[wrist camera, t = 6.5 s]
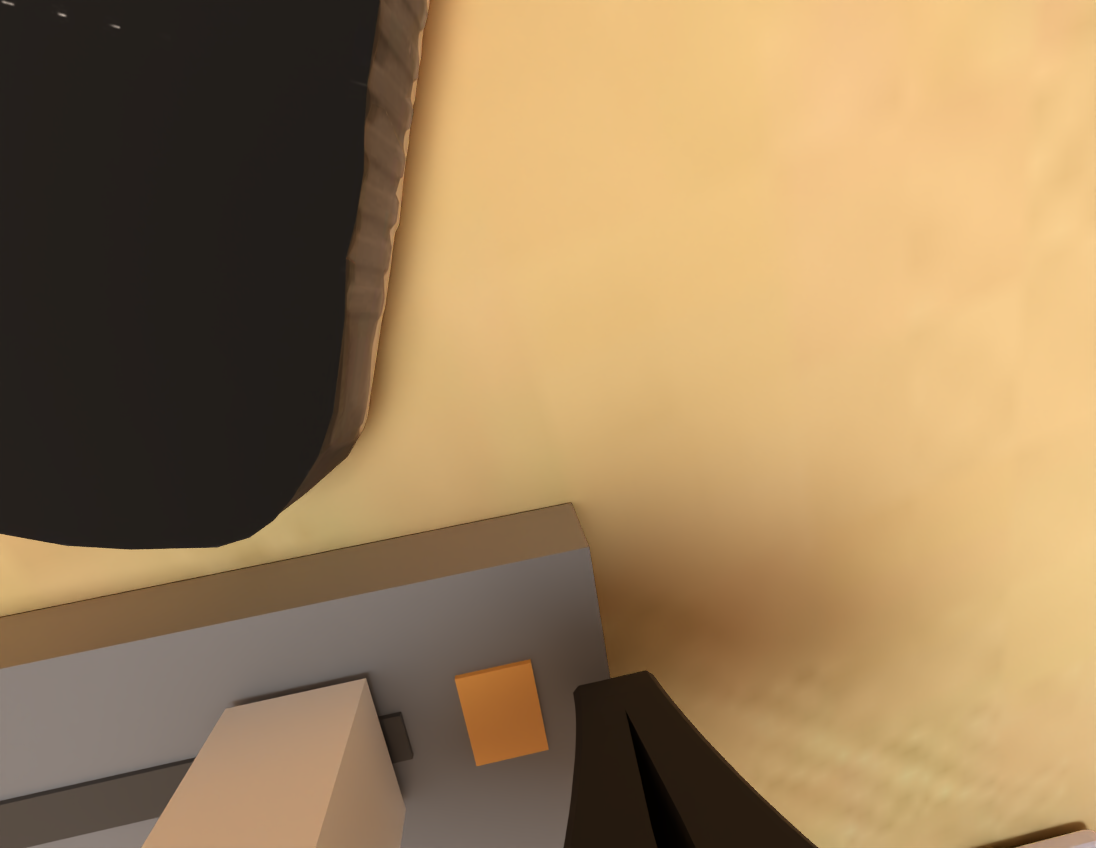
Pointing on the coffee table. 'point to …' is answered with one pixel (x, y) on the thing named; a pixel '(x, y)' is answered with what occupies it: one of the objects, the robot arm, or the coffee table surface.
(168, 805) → the block
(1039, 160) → the coffee table surface
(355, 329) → the black sponge
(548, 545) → the grey flat block
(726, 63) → the coffee table surface
